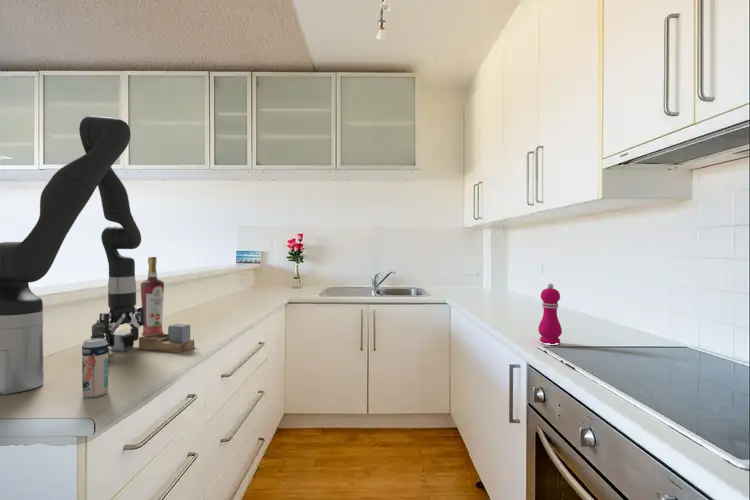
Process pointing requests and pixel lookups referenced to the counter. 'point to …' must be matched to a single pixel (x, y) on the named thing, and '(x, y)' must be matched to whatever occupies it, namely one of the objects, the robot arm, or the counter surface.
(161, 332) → the liquor
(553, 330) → the pepper mill
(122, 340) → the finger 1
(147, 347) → the wooden tray
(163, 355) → the counter surface
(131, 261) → the robot arm
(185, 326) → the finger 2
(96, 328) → the dark metal lantern
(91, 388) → the beer can
